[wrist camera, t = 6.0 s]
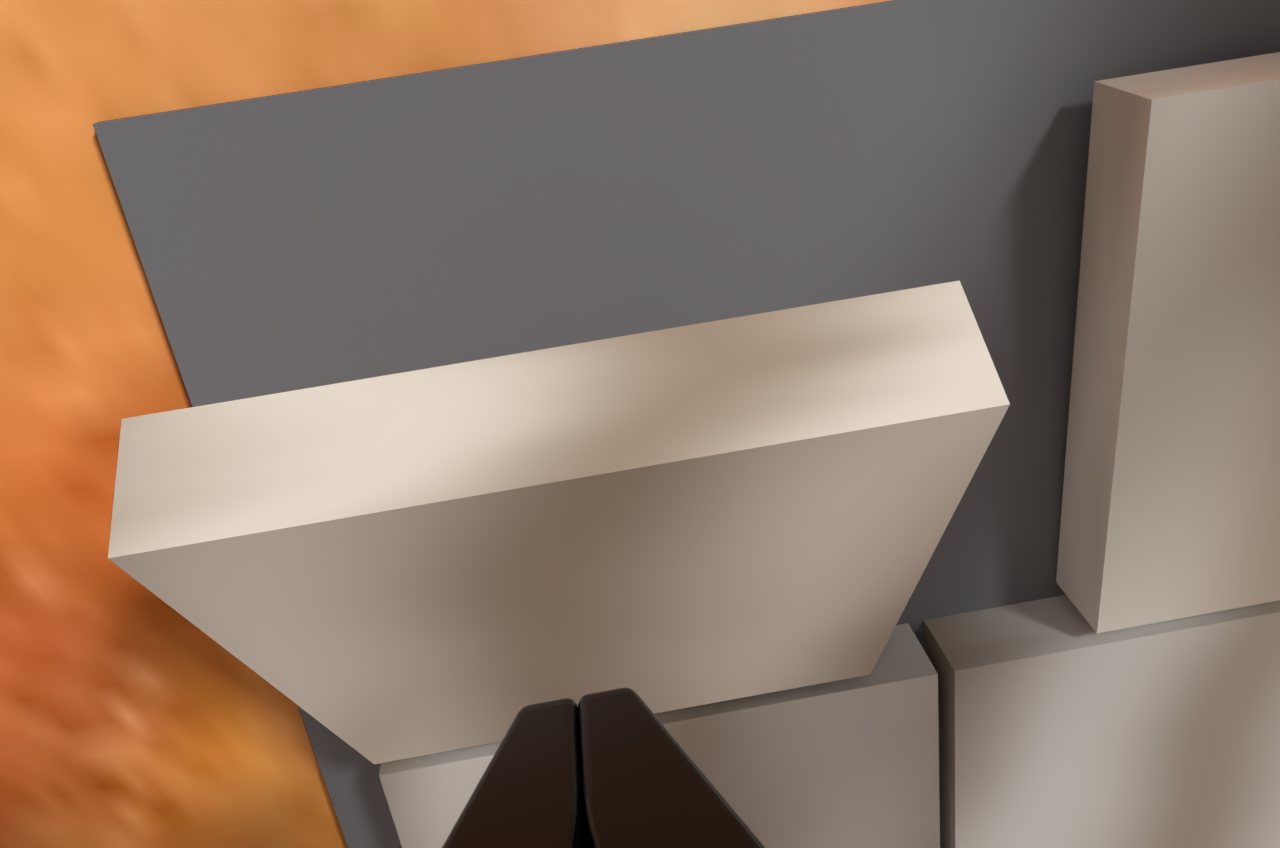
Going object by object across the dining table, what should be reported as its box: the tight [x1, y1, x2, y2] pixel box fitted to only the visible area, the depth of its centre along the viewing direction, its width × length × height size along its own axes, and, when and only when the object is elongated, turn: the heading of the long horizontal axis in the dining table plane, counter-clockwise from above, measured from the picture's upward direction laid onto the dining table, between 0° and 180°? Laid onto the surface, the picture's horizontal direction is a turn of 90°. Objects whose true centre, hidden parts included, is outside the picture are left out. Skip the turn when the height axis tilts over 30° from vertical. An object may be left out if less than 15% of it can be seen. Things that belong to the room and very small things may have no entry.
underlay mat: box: [93, 0, 1280, 848], centre depth 19 cm, size 24×22×1 cm
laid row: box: [379, 595, 1280, 848], centre depth 20 cm, size 21×9×2 cm, turn 98°
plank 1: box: [108, 280, 1010, 764], centre depth 14 cm, size 8×9×2 cm
